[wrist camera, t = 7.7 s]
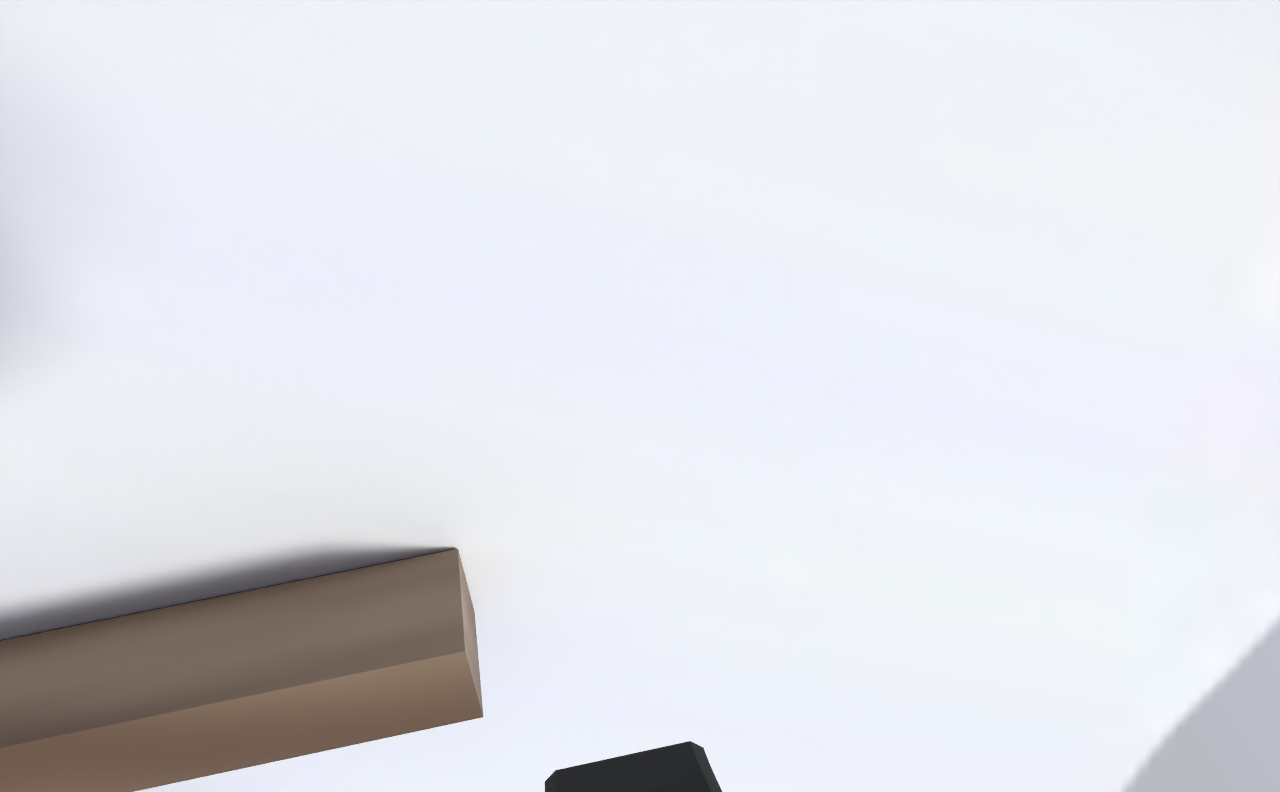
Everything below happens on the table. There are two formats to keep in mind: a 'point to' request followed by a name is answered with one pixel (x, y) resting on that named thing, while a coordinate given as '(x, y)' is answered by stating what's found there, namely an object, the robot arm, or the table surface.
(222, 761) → the wooden serving tray
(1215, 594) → the table surface
